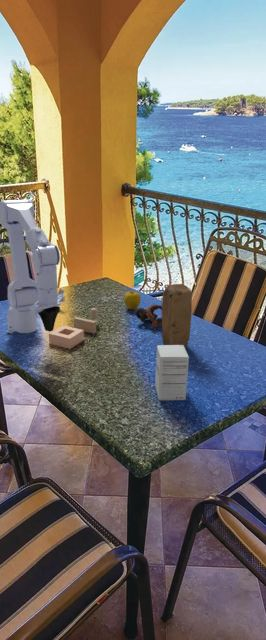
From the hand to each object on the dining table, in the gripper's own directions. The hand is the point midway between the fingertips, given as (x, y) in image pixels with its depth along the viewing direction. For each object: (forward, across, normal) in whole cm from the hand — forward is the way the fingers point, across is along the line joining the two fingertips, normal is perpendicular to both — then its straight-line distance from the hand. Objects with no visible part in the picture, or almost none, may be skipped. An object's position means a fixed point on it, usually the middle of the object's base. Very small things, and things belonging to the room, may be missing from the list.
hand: (49, 330), depth 138 cm
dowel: (+8, +26, 0) cm, 27 cm away
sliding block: (+7, +9, 0) cm, 12 cm away
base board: (+8, +13, 0) cm, 15 cm away
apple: (+9, +50, -3) cm, 51 cm away
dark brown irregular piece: (+9, +40, -16) cm, 44 cm away
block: (+9, +27, -30) cm, 41 cm away
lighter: (+9, +35, +23) cm, 43 cm away
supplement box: (+9, -3, -41) cm, 42 cm away
